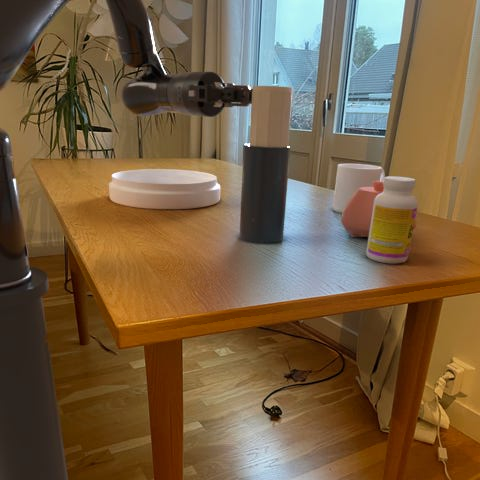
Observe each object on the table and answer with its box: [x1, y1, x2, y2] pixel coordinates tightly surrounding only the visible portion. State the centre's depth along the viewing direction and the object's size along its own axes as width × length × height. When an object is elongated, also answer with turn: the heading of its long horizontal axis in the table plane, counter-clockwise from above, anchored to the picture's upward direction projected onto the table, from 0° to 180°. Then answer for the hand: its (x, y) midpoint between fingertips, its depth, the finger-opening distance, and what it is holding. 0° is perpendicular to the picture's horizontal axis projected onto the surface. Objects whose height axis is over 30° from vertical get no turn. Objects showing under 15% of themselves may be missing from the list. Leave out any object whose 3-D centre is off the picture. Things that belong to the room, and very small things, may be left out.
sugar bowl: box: [340, 181, 418, 238], centre depth 90 cm, size 12×14×10 cm
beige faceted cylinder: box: [249, 85, 293, 148], centre depth 79 cm, size 6×7×9 cm
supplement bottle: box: [365, 175, 419, 265], centre depth 76 cm, size 7×7×13 cm
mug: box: [332, 163, 386, 214], centre depth 112 cm, size 13×10×10 cm
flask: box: [239, 143, 291, 245], centre depth 83 cm, size 8×8×20 cm
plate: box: [108, 168, 221, 210], centre depth 117 cm, size 27×27×6 cm
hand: (258, 96), depth 79 cm, fingers open, 8 cm apart
